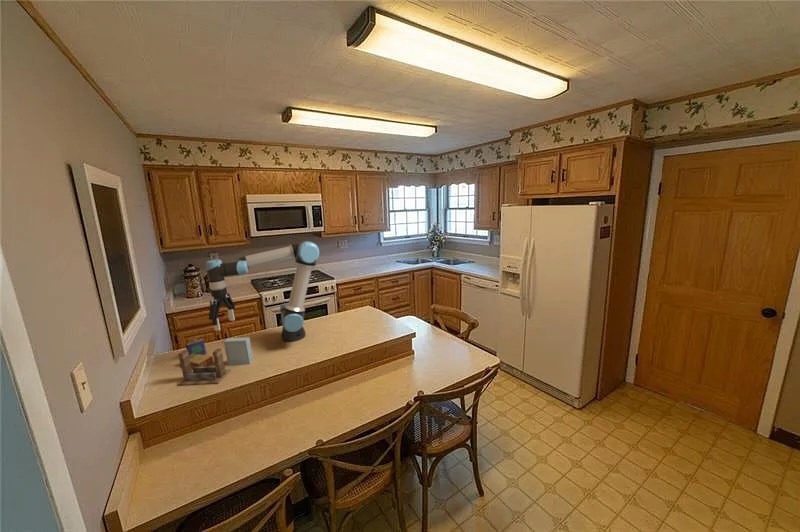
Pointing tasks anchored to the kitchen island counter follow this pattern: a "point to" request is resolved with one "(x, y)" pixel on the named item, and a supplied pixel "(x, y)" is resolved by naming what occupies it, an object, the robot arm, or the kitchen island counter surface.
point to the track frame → (202, 370)
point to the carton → (200, 360)
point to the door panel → (238, 351)
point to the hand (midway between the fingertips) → (225, 325)
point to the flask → (196, 347)
